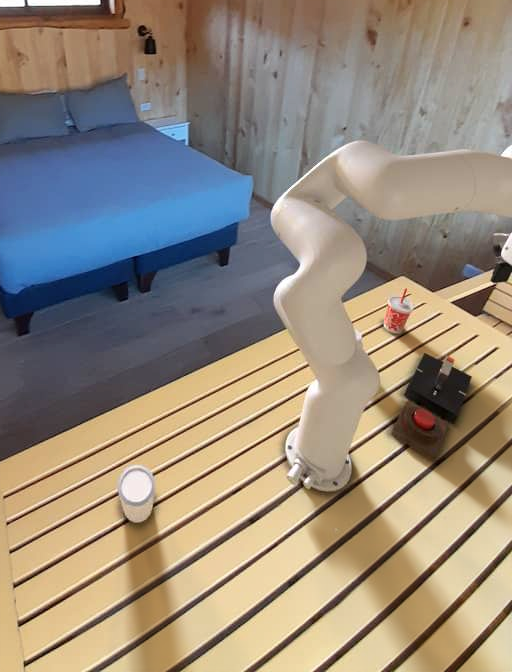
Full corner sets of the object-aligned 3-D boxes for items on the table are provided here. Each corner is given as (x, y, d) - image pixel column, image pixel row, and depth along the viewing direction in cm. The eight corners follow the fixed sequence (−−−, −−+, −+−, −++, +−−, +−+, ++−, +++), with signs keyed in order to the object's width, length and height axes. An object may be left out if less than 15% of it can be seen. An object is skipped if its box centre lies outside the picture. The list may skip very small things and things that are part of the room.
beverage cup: (376, 320, 116) (388, 282, 109) (395, 318, 116) (409, 280, 110) (389, 336, 110) (403, 297, 104) (410, 334, 111) (424, 295, 105)
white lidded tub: (142, 535, 71) (141, 515, 68) (112, 511, 75) (109, 491, 71) (162, 498, 76) (162, 477, 73) (132, 477, 80) (131, 457, 77)
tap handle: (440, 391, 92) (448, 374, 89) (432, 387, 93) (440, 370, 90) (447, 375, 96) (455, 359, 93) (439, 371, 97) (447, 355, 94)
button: (430, 433, 83) (432, 428, 83) (410, 421, 86) (413, 416, 85) (434, 421, 86) (437, 416, 85) (415, 410, 88) (418, 405, 87)
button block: (433, 461, 81) (438, 451, 80) (390, 434, 87) (395, 424, 85) (446, 427, 88) (451, 417, 86) (405, 403, 93) (409, 393, 91)
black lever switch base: (454, 424, 88) (458, 415, 87) (403, 395, 95) (406, 386, 93) (468, 385, 97) (472, 376, 95) (420, 360, 103) (424, 351, 102)
